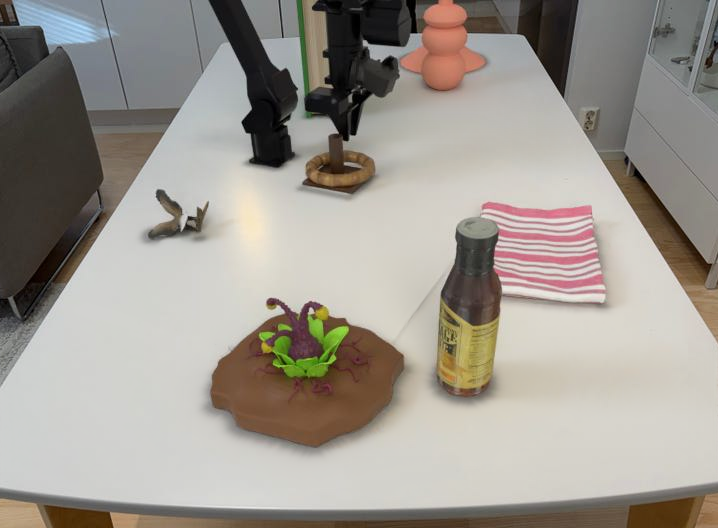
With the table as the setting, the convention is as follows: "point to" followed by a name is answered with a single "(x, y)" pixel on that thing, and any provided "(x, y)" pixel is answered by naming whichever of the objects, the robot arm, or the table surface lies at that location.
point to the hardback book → (312, 46)
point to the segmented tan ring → (340, 179)
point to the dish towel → (547, 253)
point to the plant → (306, 376)
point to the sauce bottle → (470, 311)
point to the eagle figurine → (176, 217)
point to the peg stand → (336, 166)
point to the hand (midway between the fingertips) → (349, 138)
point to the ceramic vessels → (443, 48)
